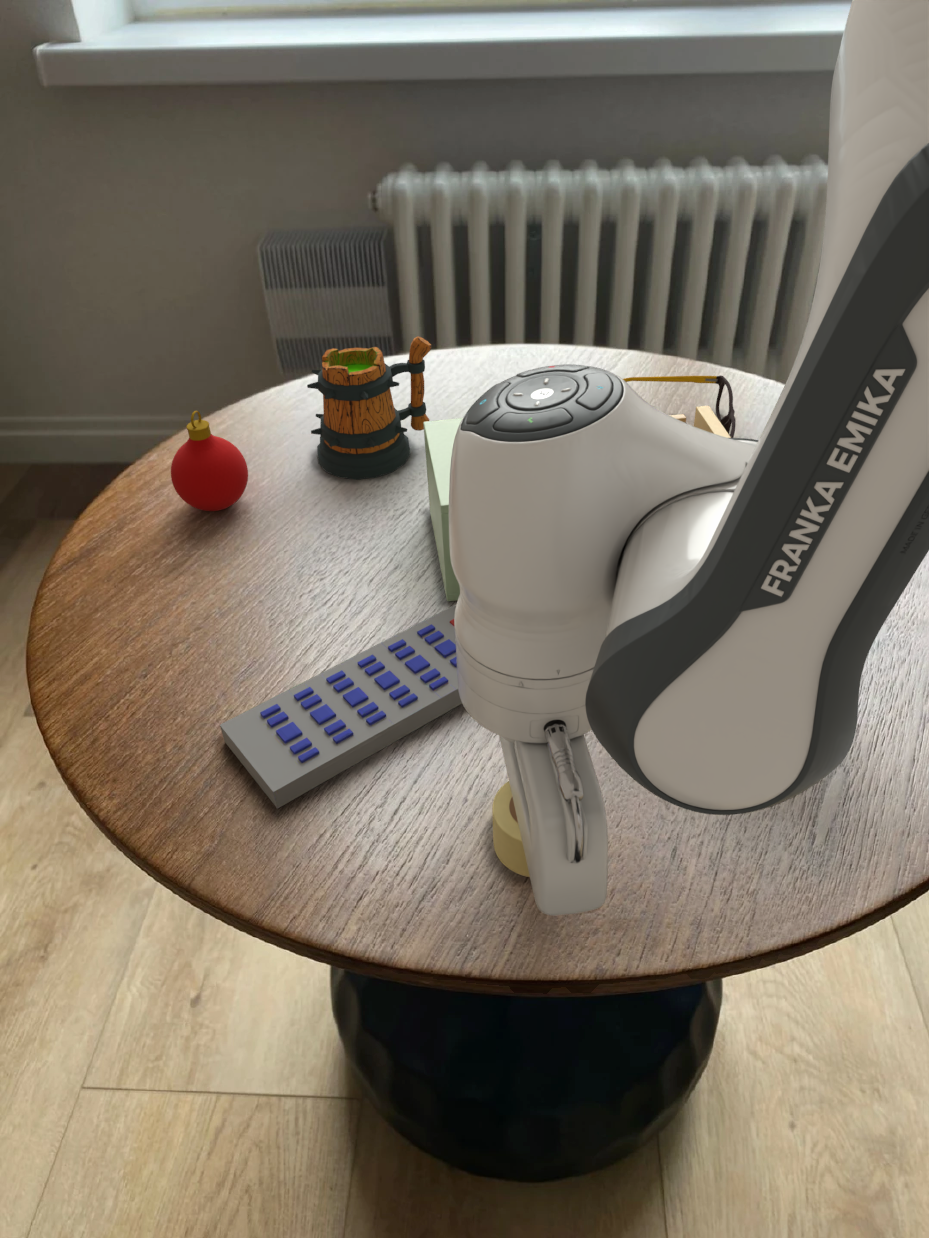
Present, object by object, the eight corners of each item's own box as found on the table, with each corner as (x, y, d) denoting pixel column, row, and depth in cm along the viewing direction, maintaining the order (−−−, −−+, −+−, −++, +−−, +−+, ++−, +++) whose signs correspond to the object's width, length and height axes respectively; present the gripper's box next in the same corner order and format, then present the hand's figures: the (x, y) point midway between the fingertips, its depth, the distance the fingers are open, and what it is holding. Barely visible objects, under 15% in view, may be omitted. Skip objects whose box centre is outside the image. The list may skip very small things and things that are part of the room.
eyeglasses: (733, 478, 94) (739, 441, 91) (583, 470, 96) (585, 435, 93) (726, 408, 104) (731, 373, 102) (592, 402, 106) (593, 369, 104)
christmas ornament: (200, 482, 97) (176, 391, 90) (265, 488, 95) (246, 396, 89) (167, 521, 92) (140, 428, 85) (236, 529, 90) (213, 434, 84)
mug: (326, 489, 95) (310, 381, 87) (306, 441, 102) (289, 337, 95) (452, 463, 98) (446, 356, 90) (423, 418, 105) (415, 315, 98)
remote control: (224, 742, 70) (218, 721, 68) (472, 612, 80) (470, 592, 78) (277, 810, 65) (271, 789, 63) (534, 663, 75) (534, 641, 73)
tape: (569, 802, 64) (571, 767, 62) (588, 871, 60) (590, 836, 58) (487, 813, 64) (486, 777, 61) (500, 883, 60) (499, 848, 57)
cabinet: (591, 495, 92) (596, 404, 86) (629, 581, 82) (637, 484, 76) (429, 512, 91) (423, 421, 85) (446, 602, 81) (440, 505, 75)
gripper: (649, 806, 44) (628, 967, 53) (558, 547, 60) (553, 705, 69) (513, 824, 44) (515, 983, 53) (457, 558, 59) (465, 716, 68)
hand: (536, 824), depth 61 cm, fingers closed on tape, 5 cm apart
